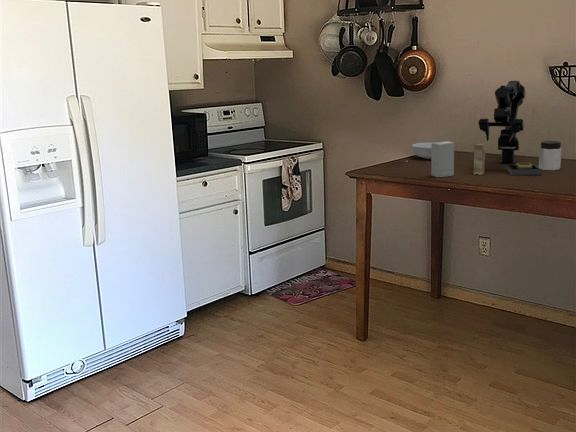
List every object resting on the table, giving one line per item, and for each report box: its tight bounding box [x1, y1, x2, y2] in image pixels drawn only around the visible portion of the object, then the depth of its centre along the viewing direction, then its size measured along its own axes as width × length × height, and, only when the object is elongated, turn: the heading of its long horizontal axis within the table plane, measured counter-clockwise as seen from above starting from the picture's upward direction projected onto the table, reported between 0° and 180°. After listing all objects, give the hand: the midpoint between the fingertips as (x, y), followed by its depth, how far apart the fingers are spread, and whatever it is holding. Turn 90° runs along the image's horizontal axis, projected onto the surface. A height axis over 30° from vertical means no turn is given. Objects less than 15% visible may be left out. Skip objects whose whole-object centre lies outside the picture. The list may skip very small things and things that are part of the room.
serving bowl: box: [411, 142, 433, 160], centre depth 327 cm, size 21×21×7 cm
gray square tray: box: [506, 162, 542, 177], centre depth 279 cm, size 12×12×4 cm
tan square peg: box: [473, 143, 486, 176], centre depth 280 cm, size 4×4×13 cm
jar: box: [538, 140, 562, 171], centre depth 285 cm, size 9×8×12 cm
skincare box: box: [430, 140, 455, 178], centre depth 278 cm, size 8×6×15 cm
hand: (498, 140), depth 280 cm, fingers open, 9 cm apart
